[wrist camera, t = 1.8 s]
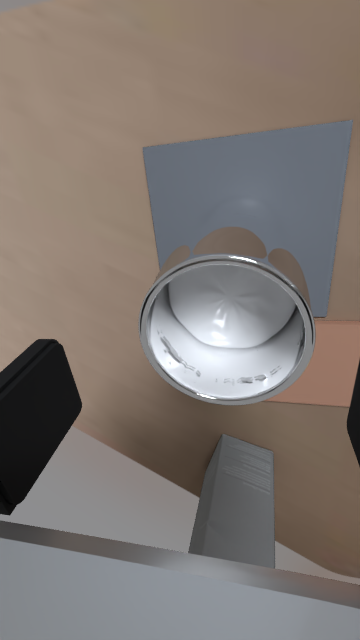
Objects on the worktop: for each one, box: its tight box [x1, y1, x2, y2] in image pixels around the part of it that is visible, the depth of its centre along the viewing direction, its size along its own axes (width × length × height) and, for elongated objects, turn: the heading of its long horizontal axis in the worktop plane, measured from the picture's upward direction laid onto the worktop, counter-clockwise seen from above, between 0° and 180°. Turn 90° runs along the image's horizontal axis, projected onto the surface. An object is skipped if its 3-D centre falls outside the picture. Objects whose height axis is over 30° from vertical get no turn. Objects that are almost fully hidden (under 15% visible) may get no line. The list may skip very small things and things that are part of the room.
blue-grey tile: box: [143, 120, 353, 317], centre depth 24 cm, size 14×14×1 cm
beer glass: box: [138, 197, 316, 405], centre depth 18 cm, size 7×7×15 cm
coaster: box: [263, 321, 360, 407], centre depth 28 cm, size 9×9×1 cm
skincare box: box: [188, 434, 275, 569], centre depth 31 cm, size 8×7×16 cm
